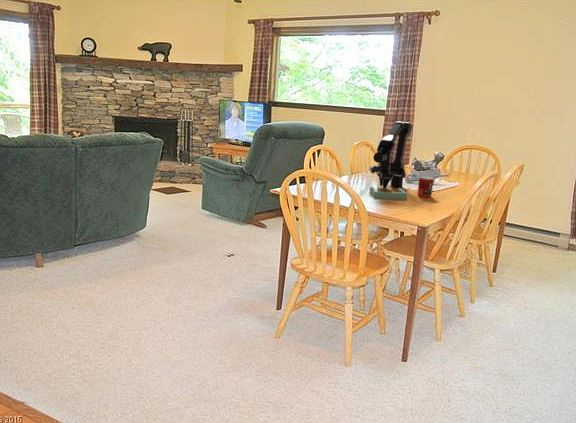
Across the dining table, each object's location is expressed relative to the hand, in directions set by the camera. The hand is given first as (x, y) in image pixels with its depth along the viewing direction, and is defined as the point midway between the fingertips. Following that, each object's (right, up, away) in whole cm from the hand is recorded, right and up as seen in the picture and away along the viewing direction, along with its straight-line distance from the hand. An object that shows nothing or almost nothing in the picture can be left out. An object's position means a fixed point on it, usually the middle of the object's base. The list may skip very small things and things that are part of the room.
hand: (382, 187), depth 309 cm
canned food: (+22, -6, -8) cm, 24 cm away
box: (+1, -5, -13) cm, 14 cm away
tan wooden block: (0, -5, -8) cm, 9 cm away
